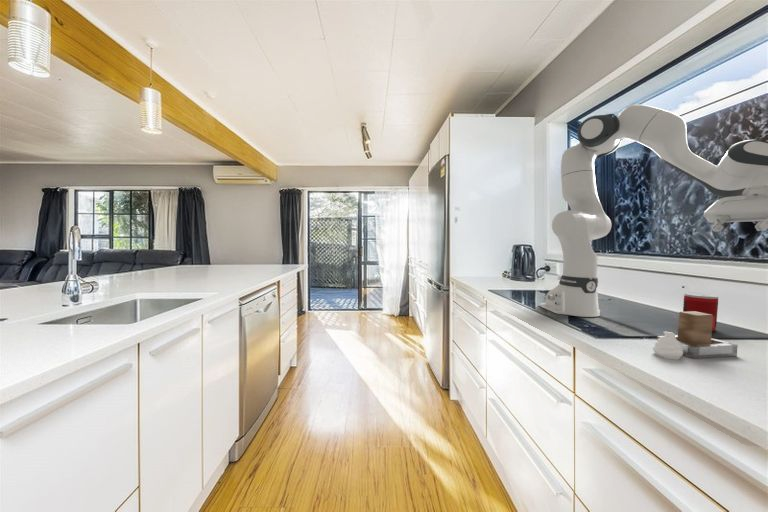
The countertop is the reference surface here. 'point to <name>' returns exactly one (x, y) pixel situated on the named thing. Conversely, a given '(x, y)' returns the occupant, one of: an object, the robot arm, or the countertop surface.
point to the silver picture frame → (708, 349)
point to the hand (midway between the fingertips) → (736, 229)
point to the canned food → (702, 305)
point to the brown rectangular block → (695, 328)
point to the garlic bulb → (668, 346)
